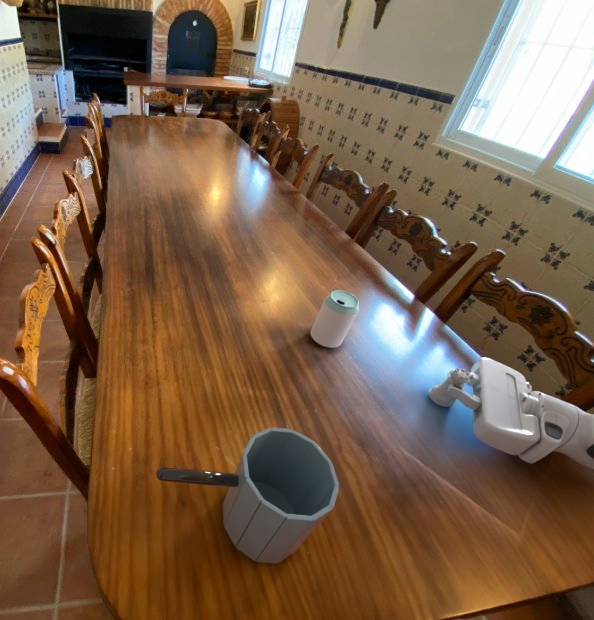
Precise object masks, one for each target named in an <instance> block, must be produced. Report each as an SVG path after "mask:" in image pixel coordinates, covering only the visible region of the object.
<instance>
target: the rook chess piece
mask: <svg viewBox="0 0 594 620" xmlns="http://www.w3.org/2000/svg"><path fill="white" fill-rule="evenodd" d="M450 370H451V372H450V373H451V376H448V375H447V379H446V380H444V381H443V382H441V383H440V384H435V385H434V386H432V387H431V388H430V389H429V390H428V397H429V399H430V400H431V401H432V402H433V403H434V404H435V405H438V406H440V407H443V408H448V407H449V408H450V407H452V406H453V405H454V404H455V403H456V401H457V398H455V397H453V396H451V395H449V394H447V387H448V386H449V385H450V384H451V383H453V384H456V385H458V386H461V387H462V388H463V387H464V386H465V384H466V383H469V382H470V378H471V375H469V374H470V373H471V372H470V371H466V369H465V368H461V367H456V368H455V369H450Z"/></svg>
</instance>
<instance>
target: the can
mask: <svg viewBox="0 0 594 620" xmlns="http://www.w3.org/2000/svg"><path fill="white" fill-rule="evenodd" d="M359 312H360V301H359V298H358V297H357V296H355V294H353V293H351V292H349V291H346V290H333V291H331V293H330V294H329V295H327V296H326V297H325V298H324V300H323V302H322V305H321V307H320V309H319V311H318V313H317V315H316V319H315V321H314V323H313V325H312V327H311V329H310V336H311V338H312V339H313V341H314V342H316V343H317V344H318V345H320V346H322V347H325V348H330V349H331V348H338V347H340V346H341V345H342V344H343V342H344V340H345V338H346V336H347V334H348V332H349V331H350V330H351V329H350V328H351V327H352V325H353V323H354V321H355V319H356V318H357V315H358V314H359Z"/></svg>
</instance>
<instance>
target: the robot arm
mask: <svg viewBox="0 0 594 620" xmlns="http://www.w3.org/2000/svg"><path fill="white" fill-rule="evenodd" d="M451 370H452V369H450V370H449V371H448V372H447V377H448V376H451V373H450V372H451ZM470 371H471V372H469V373H470V374H469V375H471V378H470V382H469V383H465V384H466V385H467V386H469V387H471V394H470V393H468V392H466V391H465V390H463V387H461V386H458V385H456V384H453V383H451V384H450V385H449V386H448V387H447V394H449V395H451V396H453V397H455V398H456V400H458V401H459V402H460V403H461V404H462V405H464V406H465V407H466V408H468V409H470V410H472V433H473V435H474V436H475V437H476V438H477V440H479V441H480V442H482V443H483V444H485V445H487V446H489V447H491V448H494V449H495V450H498V451H501V452H503V453H505V454H509V455H511V456H518V458H519V459H520V460H522V461H524V462H525V463H529V464H534V463H537V462H538V461H540V460H541V459H543V458H545V457H547V456H548V455H549V454H551V453H552V452H554V453H555V452H556V453H560V454H562V455H564V456H566V457H568V458H569V459H571V460H572V461H574V462H575V463H577V464H580V465H582V466H584V467H587V468H589V469H591V470H594V413H593V414H591V413H589V412H586V411H584V410H583V409H581V408H579V407H578V406H577V405H575V404H572V403H570V402H567V401H564V400H562V399H559V398H557V397H554V396H552V395H549V394H547V393H544V392H541V391H539V390H538V391H537V390H534V391H533V386H532V384H531V383H530V382H529V381H528V380H526V377H525V376H524V375H523V374H522V373H520V372H519V371H517V370H515V369H514V368H511V367H509V366H507V365H505V364H503V363H501V362H500V361H496V360H494V359H492V358H489V357H480V358H479V359H477V361H475V363H473V365H472V366H471V369H470Z"/></svg>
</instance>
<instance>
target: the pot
mask: <svg viewBox="0 0 594 620" xmlns="http://www.w3.org/2000/svg"><path fill="white" fill-rule="evenodd" d="M155 475H156V478H157V480H158V481H161V482H169V483H170V482H171V483H180V484H189V485H203V486H211V487H212V486H215V487H225V488H228V489H227V491H226V495H225V497H224V499H223V502H222V520H223V527H224V529H225V532H226V533H227V535H228V537H229V539H230V540H231V542H232V545H233V546H234V547H235V548H236V549H237V550H238V551H239V552H241V553H243V554H244V555H245V556H246V557H248V558H249V559H251V560H252V561H253V562H256V563H262V564H263V563H264V564H275V565H276V564H280V563H281V562H283V561H284V560H285V559H287V558H289V557H290V556H291V555H293V554H294V553H295V552H296V551H297V550H298V549H299V548H300V547H301V546H302V544H303V543H304V542H305V541H306V540H307V538H309V536H310V535H311V534H312V533H313V532H314V530H315V529H316V528H318V526H319V525H320V524H321V523H322V522H323V521H324V519H325V518H326V517H327V516H328V515H329V514H330V513H331V511H333V509H334V508H335V504H336V501H337V497H338V493H339V489H340V483H339V480H338V476H337V474H336V470H335V467H334V463H333V462H332V460H331V459H330V458H329V457H328V454H326V452H324V450H323V449H322V448H321V447H320V446H319V445H318V444H317V442H316V441H314V440H313V439H311V438H309V437H307V436H305V435H304V434H302V433H300V432H298V431H296V430H295V429H292V428H282V427H281V428H280V427H268V428H266V429H264V430H262V431H260V432H257V433H255V434H253V435H251V437H250V439H249V441H248V442H247V444H246V446H245V448H244V450H243V452H242V454H241V456H240V459H239V461H238V464H237V466H236V469H235V472H224V471H223V472H222V471H210V470H200V469H188V468H177V467H167V466H166V467H165V466H159V468H158V469H157V470H156V472H155Z"/></svg>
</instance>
